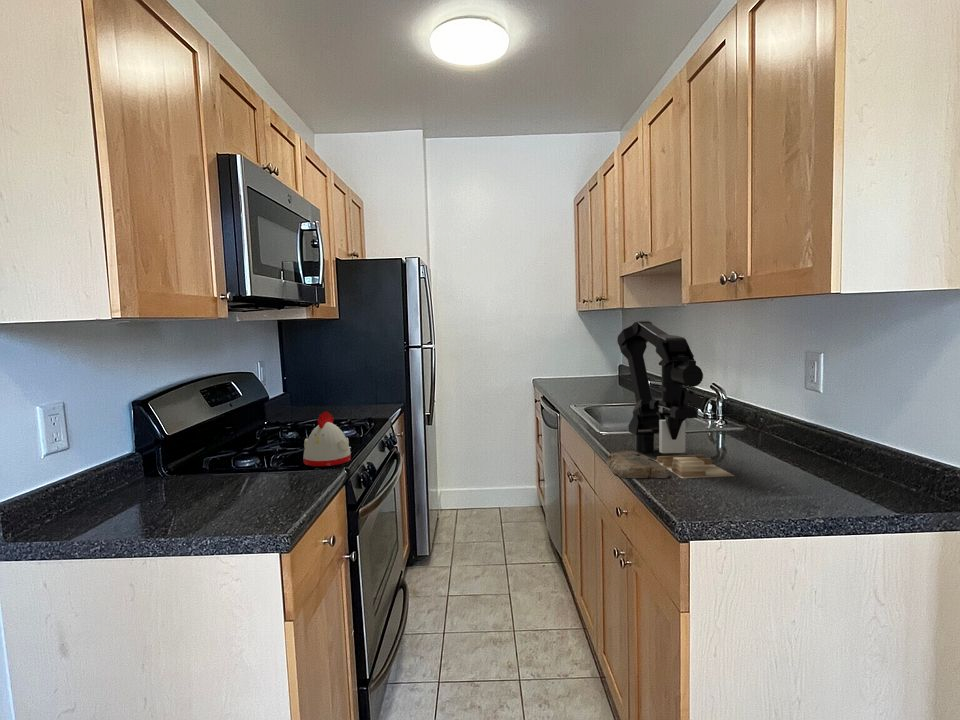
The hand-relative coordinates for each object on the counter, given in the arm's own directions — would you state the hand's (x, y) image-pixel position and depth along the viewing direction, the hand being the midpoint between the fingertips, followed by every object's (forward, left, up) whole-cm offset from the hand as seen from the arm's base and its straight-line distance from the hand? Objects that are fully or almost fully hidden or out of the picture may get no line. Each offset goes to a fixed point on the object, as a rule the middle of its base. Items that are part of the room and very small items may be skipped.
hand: (672, 438), depth 151 cm
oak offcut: (+10, 0, -6) cm, 11 cm away
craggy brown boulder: (+3, -12, -8) cm, 15 cm away
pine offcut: (+10, 0, -5) cm, 11 cm away
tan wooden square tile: (+10, 0, -7) cm, 12 cm away
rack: (+5, +3, -8) cm, 10 cm away
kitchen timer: (-22, -99, -8) cm, 102 cm away
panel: (0, 0, -4) cm, 4 cm away
